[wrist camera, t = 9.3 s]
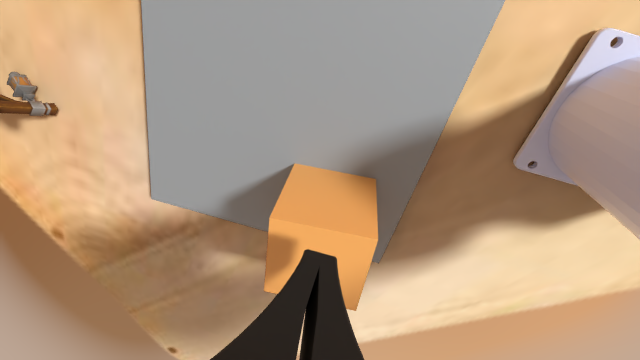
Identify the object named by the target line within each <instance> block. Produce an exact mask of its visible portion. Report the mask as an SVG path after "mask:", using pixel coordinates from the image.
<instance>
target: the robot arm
mask: <svg viewBox="0 0 640 360" xmlns="http://www.w3.org/2000/svg"><path fill="white" fill-rule="evenodd" d="M615 37H617V39H618V40H617V43H616V44H615V45H614V46H612V47H611V46H610V43H611V41H612V40H613V39H614V38H615ZM531 161H535V162H534V164H533V165H531V166H528V164H529V163H530V162H531ZM513 164H514V165H515V166H516V167H517V168H518V169H520V170H524V171H527V172H531V173H534V174H538V175H541V176H545V177H548V178H552V179H555V180H559V181H563V182H566V183H570V184H573V185H577V186H579V187H580V188H582V189H583V190H584V191H585V192H586V193H587V194H588V195H590V196H591V197H592V198H593V199H594V200H595V201H596V202H598V203H599V204H600V205H601V206H602V207H603V208H604V209H606V210H607V211H608V212H609V213H610V214H611V215H612V216H614V217H615V218H616V219H617V220H618V221H619V222H620V223H621V224H623V225H624V226H625V227H626V228H627V229H628V230H629V231H631V232H632V233H633V234H634V235H635V236H636V237H637V238H639V239H640V36H638V35H635V34H631V33H628V32H624V31H621V30H617V29H614V28H603V29H600V30H598V31H597V32H596V33H595V34H594V35H593V36H592V38H591V39H590V41H589V42H588V44H587V45H586V47H585V49H584V50H583V52H582V53H581V55H580V56H579V58H578V59H577V61H576V63H575V64H574V66H573V67H572V69H571V70H570V72H569V73H568V75H567V77H566V78H565V80H564V81H563V83H562V84H561V86H560V88H559V89H558V91H557V92H556V94H555V95H554V97H553V98H552V100H551V102H550V103H549V105H548V106H547V108H546V109H545V111H544V112H543V114H542V116H541V117H540V119H539V120H538V122H537V123H536V125H535V126H534V128H533V130H532V131H531V133H530V134H529V136H528V137H527V139H526V141H525V142H524V144H523V145H522V147H521V148H520V150H519V151H518V153H517V155H516V156H515V158H514V160H513ZM305 310H306V312H305ZM304 314H305V320H304V327H303V335H302V343H301V351H300V359H299V360H364V358H363V355H362V353H361V351H360V348H359V346H358V343H357V340H356V338H355V335H354V332H353V330H352V327H351V324H350V320H349V317H348V314H347V310H346V307H345V303H344V299H343V295H342V290H341V286H340V280H339V274H338V266H337V258H336V257H335V256H331V255H327V254H324V253H320V252H317V251H313V250H309V249H306V250H304V253H303V256H302V258H301V260H300V262H299V264H298V266H297V267H296V269H295V271H294V272H293V274H292V275H291V277H290V278H289V280H288V281H287V282H286V284H285V285H284V287H283V288H282V289H281V291H280V292H279V293H278V294H277V296H276V297H275V298H274V299H273V301H272V302H271V303H270V304H269V305H268V306H267V308H266V309H265V310H264V311H263V312H262V313H261V314H260V315H259V316H258V317H257V318H256V319H255V320H254V321H253V322H252V323H251V324H250V325H249V326H248V327H247V328H246V329H245V330H244V331H243V332H242V333H241V334H240V335H239V336H238V337H237V338H235V339H234V340H233V341H232V342H231V343H230V344H228V345H227V346H226V347H225V348H224V349H223V350H222V351H220V352H219V353H218V354H217V355H215V356H214V357H213V358H211V359H210V360H296V356H297V351H298V345H299V340H300V335H301V329H302V324H303V319H304Z"/></svg>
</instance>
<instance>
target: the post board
mask: <svg viewBox="0 0 640 360" xmlns="http://www.w3.org/2000/svg"><path fill="white" fill-rule="evenodd" d="M504 2H505V0H141V7H142V26H143V46H144V65H145V84H146V104H147V123H148V142H149V162H150V181H151V199H153V200H157V201H160V202H164V203H168V204H171V205H175V206H178V207H182V208H185V209H189V210H192V211H196V212H199V213H203V214H206V215H210V216H214V217H217V218H221V219H224V220H228V221H231V222H235V223H238V224H242V225H245V226H249V227H252V228H256V229H260V230H263V231H267V232H268V230H269V218H270V215H271V213H272V211H273V209H274V207H275V205H276V202H277V200H278V198H279V196H280V194H281V192H282V190H283V187H284V185H285V183H286V181H287V179H288V177H289V175H290V172H291V170H292V168H293V166H294V164H295V163H296V164H301V165H306V166H311V167H316V168H322V169H327V170H332V171H337V172H342V173H348V174H353V175H358V176H363V177H368V178H374V179H376V193H377V220H378V242H377V245H376V248H375V251H374V255H373V258H372V261H373V262H376V263H379V262H380V260H381V258H382V256H383V254H384V252H385V250H386V247H387V245H388V243H389V241H390V239H391V237H392V235H393V233H394V231H395V229H396V227H397V225H398V222H399V220H400V218H401V216H402V214H403V212H404V210H405V208H406V206H407V204H408V202H409V200H410V198H411V195H412V193H413V191H414V189H415V187H416V185H417V183H418V181H419V179H420V177H421V175H422V173H423V170H424V168H425V166H426V164H427V162H428V160H429V158H430V156H431V154H432V152H433V150H434V148H435V145H436V143H437V141H438V139H439V137H440V135H441V133H442V131H443V129H444V127H445V125H446V123H447V121H448V118H449V116H450V114H451V112H452V110H453V108H454V106H455V104H456V102H457V100H458V98H459V96H460V93H461V91H462V89H463V87H464V85H465V83H466V81H467V79H468V77H469V75H470V73H471V71H472V68H473V66H474V64H475V62H476V60H477V58H478V56H479V54H480V52H481V50H482V48H483V46H484V43H485V41H486V39H487V37H488V35H489V33H490V31H491V29H492V27H493V25H494V23H495V21H496V19H497V16H498V14H499V12H500V10H501V8H502V6H503V4H504Z"/></svg>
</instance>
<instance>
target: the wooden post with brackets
mask: <svg viewBox="0 0 640 360" xmlns="http://www.w3.org/2000/svg"><path fill="white" fill-rule="evenodd" d="M7 85H10V86H11V88H12V89H13V90H14V93H13V97H22V98H23V99H22V100H27V101H28V102H20V101H15V100H13V99H10V98H8V97H5V96H3V95H0V113H15V114H30V116H43V114H46V115H55V114H56V112H57V110H58V108H57V107H56V105H55V104H54V103H42V102H41V101H35V99H34V97H35V95H34V93H35V90H36V88H37V86H31V84H30V82H29V80H28V78H27V77H26V75H20V74H19V73H18V72H11V73H10V74H9V78H8V81H7Z"/></svg>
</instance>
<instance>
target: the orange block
mask: <svg viewBox="0 0 640 360" xmlns="http://www.w3.org/2000/svg"><path fill="white" fill-rule="evenodd" d="M377 242H378V220H377V193H376V179H374V178H368V177H363V176H358V175H353V174H348V173H342V172H337V171H332V170H327V169H322V168H316V167H311V166H306V165H301V164H296V163H295V164H294V166H293V168H292V170H291V172H290V175H289V177H288V179H287V181H286V183H285V185H284V187H283V190H282V192H281V194H280V196H279V198H278V200H277V202H276V205H275V207H274V209H273V211H272V213H271V215H270V218H269V230H268V244H267V257H266V271H265V284H264V291H266V292H270V293H275V294H278V293H279V292H280V291H281V289H282V288H283V287H284V285H285V284H286V282H287V281H288V280H289V278H290V277H291V275H292V274H293V272H294V271H295V269H296V267H297V266H298V264H299V262H300V260H301V258H302V256H303V253H304V250H306V249H309V250H313V251H317V252H320V253H324V254H327V255H331V256H335V257H336V258H337V266H338V274H339V280H340V286H341V290H342V295H343V299H344V303H345V307H346V309H350V310H354V311H356V309H357V306H358V303H359V299H360V296H361V293H362V290H363V287H364V283H365V280H366V277H367V274H368V271H369V267H370V264H371V261H372V258H373V255H374V251H375V248H376V245H377Z"/></svg>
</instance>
